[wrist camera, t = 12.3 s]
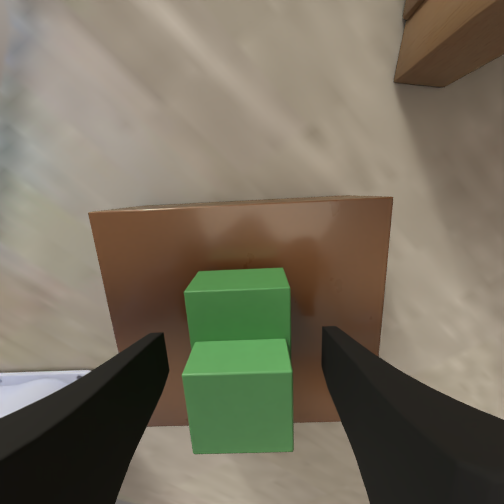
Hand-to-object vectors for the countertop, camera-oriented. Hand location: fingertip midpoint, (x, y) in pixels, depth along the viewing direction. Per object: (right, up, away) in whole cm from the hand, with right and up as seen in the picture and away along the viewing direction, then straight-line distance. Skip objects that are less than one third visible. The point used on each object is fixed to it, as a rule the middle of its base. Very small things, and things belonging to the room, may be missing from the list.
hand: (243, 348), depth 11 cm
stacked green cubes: (0, +1, +2) cm, 2 cm away
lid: (0, 0, +3) cm, 3 cm away
